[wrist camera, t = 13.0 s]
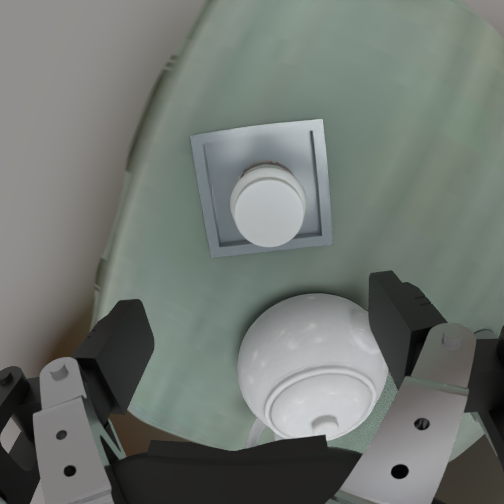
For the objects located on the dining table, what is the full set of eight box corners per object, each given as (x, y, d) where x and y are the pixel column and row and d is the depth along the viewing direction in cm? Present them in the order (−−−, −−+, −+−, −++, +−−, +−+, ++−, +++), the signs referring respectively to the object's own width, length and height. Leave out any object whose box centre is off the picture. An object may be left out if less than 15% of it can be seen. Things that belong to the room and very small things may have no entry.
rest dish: (329, 238, 33) (332, 244, 31) (213, 251, 34) (211, 257, 32) (319, 119, 28) (322, 119, 27) (193, 135, 29) (189, 135, 28)
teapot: (215, 296, 36) (192, 381, 23) (378, 267, 34) (430, 340, 21) (249, 407, 42) (245, 487, 30) (377, 385, 40) (404, 461, 28)
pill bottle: (279, 226, 32) (287, 268, 23) (226, 201, 31) (211, 233, 22) (307, 176, 30) (327, 197, 21) (252, 148, 29) (249, 157, 20)
